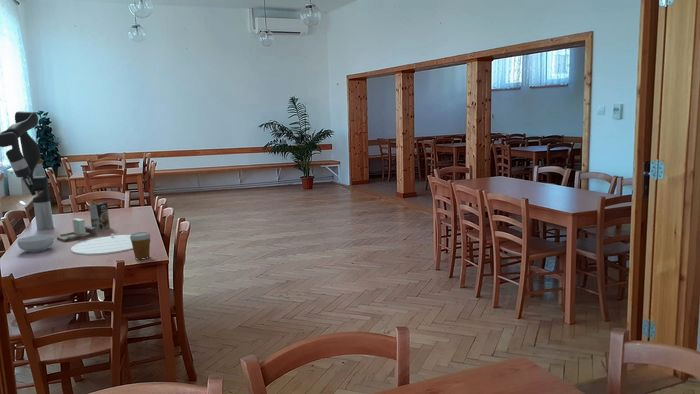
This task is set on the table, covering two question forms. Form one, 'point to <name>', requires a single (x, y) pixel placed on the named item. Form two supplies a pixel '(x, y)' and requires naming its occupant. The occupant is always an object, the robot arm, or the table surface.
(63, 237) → the track
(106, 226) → the coffee box
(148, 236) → the beer glass
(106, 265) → the table surface
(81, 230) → the pale green rectangular block
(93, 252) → the lazy susan
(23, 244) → the cereal bowl
